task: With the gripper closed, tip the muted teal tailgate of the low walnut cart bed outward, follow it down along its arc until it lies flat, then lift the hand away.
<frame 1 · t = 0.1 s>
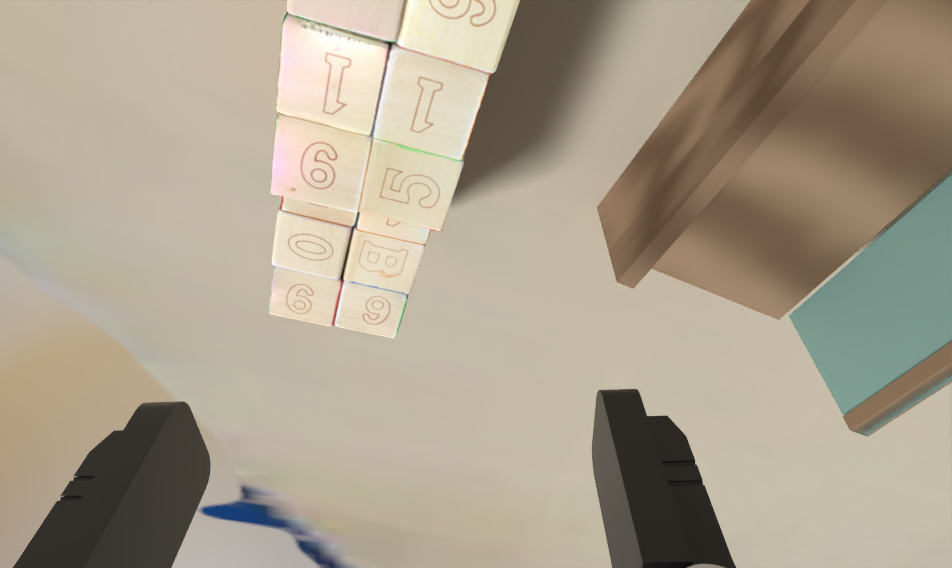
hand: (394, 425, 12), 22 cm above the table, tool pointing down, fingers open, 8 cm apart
cart bed: (818, 87, 31), on the table
stack of blocks: (397, 37, 30), on the table
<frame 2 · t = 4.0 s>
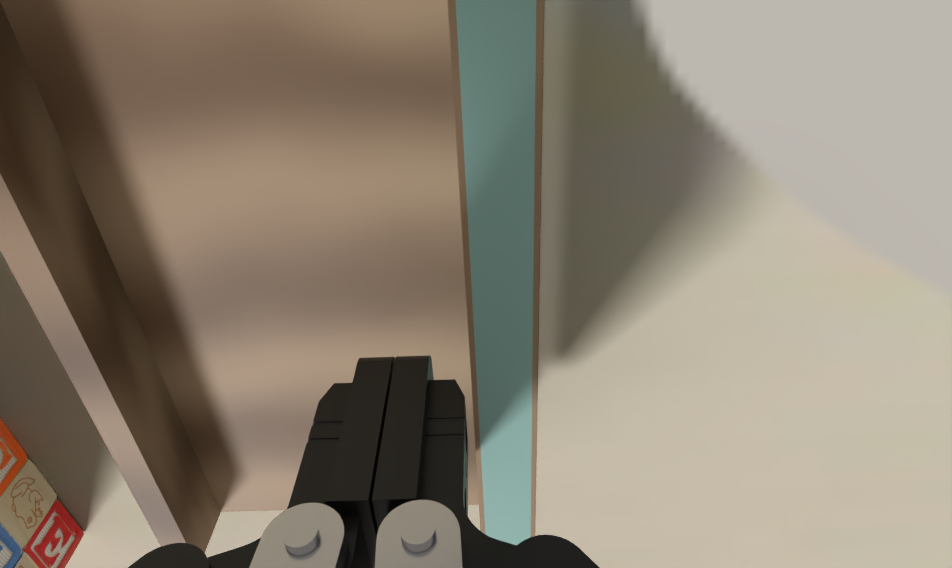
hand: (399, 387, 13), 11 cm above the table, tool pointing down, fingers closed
cart bed: (310, 230, 23), on the table
tailgate: (500, 368, 16), point 8 cm above the table, hinge at 0.1°, touching gripper
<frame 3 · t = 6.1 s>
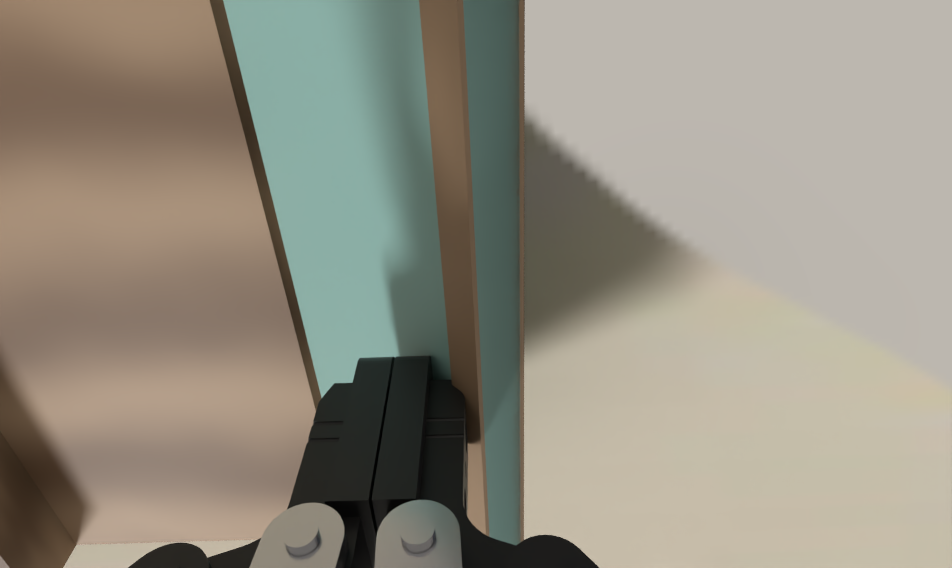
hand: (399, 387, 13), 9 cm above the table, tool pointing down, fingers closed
cart bed: (150, 254, 22), on the table
tailgate: (396, 384, 16), point 7 cm above the table, hinge at 41.4°, touching gripper
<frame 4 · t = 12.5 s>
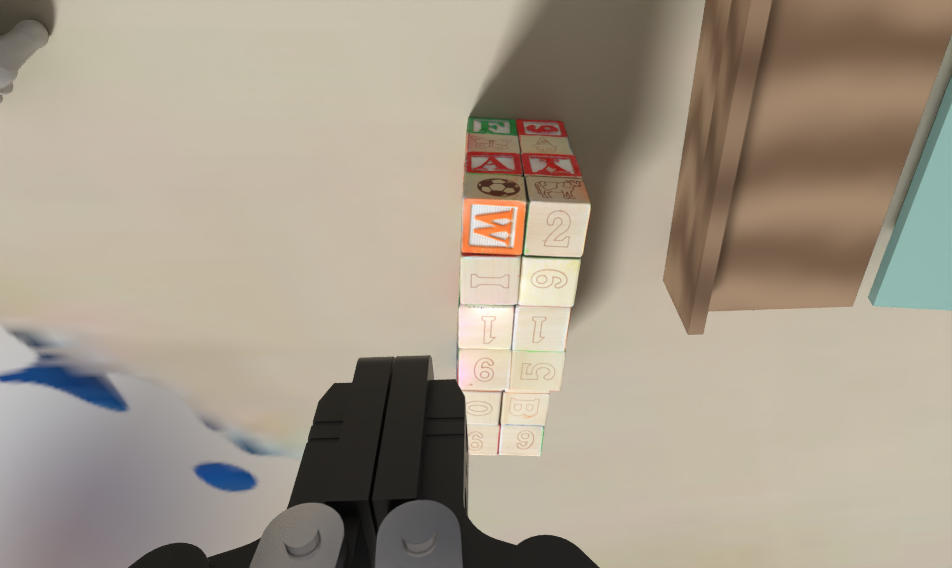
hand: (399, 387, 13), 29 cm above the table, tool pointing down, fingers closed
cart bed: (777, 135, 40), on the table
stack of blocks: (502, 257, 46), on the table
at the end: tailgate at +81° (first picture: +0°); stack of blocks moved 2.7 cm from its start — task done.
